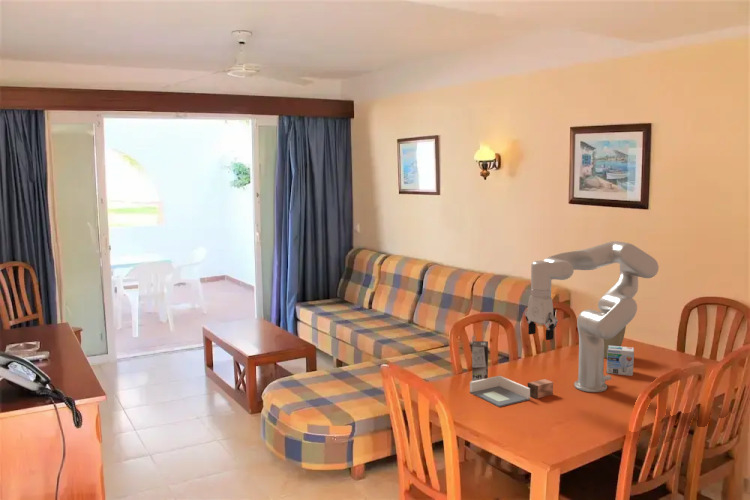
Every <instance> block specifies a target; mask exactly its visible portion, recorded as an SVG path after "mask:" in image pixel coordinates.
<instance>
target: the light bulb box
mask: <svg viewBox="0 0 750 500" xmlns="http://www.w3.org/2000/svg"><path fill="white" fill-rule="evenodd" d="M634 359H635V348H634V347H632V346H631V347H630V346H622V345H621V346H610V345H609V346H608V352H607V358H606V374H609V375H611V374H612V375H620V376H630V377H633V375H634V366H635V365H634V363H635V361H634Z"/></svg>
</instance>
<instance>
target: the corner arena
mask: <svg viewBox="0 0 750 500" xmlns="http://www.w3.org/2000/svg"><path fill="white" fill-rule="evenodd" d="M469 393H470V394H471V395H474V396H475V397H477V398H480V399H482V400H483V401H486V402H488V403H490V404H492V405H494V406H496V407H498V408H501V407H502V408H503V407H505V406H509V405H514V404H517V403H522V402H525V401H530V400H531V397H530V388H528V386H525V385H523V384H521V383H518V382H516V381H514V380H511V379H509V378H507V377H505V376H502V375H499V374H498V375H495V376H491V377H488V378H485V379H481V380H476V381H472V380H471V381H469Z"/></svg>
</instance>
